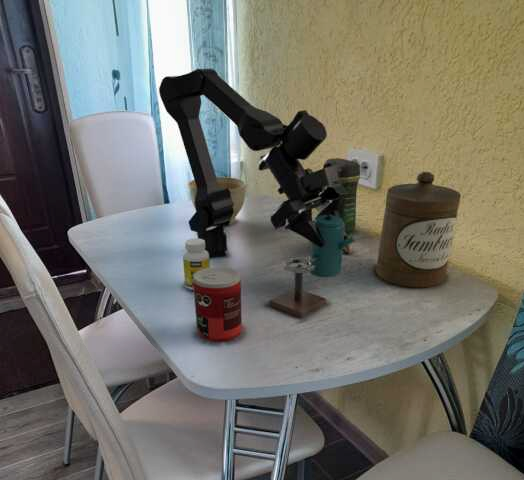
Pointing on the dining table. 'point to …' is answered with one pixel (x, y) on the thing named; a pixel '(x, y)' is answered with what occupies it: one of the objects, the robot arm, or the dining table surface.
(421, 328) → the dining table surface
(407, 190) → the wooden container
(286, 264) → the kettle
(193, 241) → the supplement bottle
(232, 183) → the planter bowl
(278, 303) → the wooden peg stand
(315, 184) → the robot arm
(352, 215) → the coffee jar
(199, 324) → the canned food
